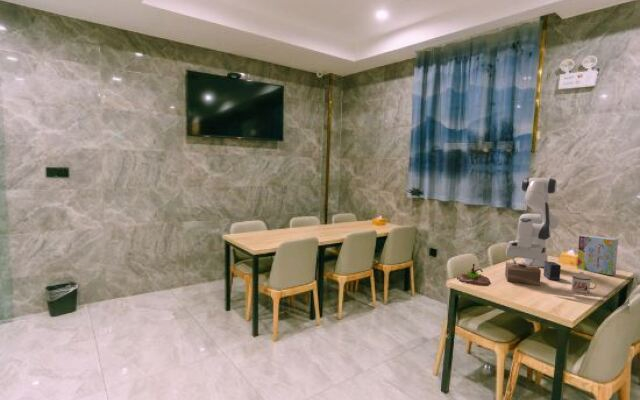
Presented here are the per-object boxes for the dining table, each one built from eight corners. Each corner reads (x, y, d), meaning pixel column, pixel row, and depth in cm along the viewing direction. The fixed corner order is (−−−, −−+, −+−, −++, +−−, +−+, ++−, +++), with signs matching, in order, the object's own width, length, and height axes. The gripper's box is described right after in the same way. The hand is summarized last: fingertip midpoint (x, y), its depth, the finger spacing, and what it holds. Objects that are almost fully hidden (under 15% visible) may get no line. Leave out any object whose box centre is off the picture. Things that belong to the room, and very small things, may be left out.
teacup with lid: (570, 291, 213) (571, 272, 212) (572, 287, 220) (573, 269, 219) (595, 295, 205) (597, 276, 205) (596, 292, 212) (598, 273, 212)
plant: (490, 280, 234) (491, 263, 233) (490, 288, 217) (491, 270, 216) (458, 275, 243) (458, 259, 242) (455, 283, 225) (456, 265, 225)
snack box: (616, 274, 254) (619, 238, 253) (611, 276, 250) (614, 240, 248) (580, 267, 272) (583, 234, 271) (576, 269, 267) (578, 235, 266)
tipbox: (505, 276, 242) (506, 262, 241) (535, 279, 235) (536, 265, 235) (507, 282, 229) (508, 266, 228) (539, 285, 222) (540, 270, 222)
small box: (560, 280, 235) (561, 265, 234) (549, 280, 236) (550, 264, 235) (553, 276, 245) (554, 261, 244) (542, 275, 246) (543, 260, 246)
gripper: (541, 244, 230) (540, 265, 231) (506, 241, 237) (504, 261, 238) (543, 246, 224) (542, 267, 225) (507, 243, 231) (506, 263, 232)
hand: (522, 264), depth 231 cm, fingers open, 8 cm apart
